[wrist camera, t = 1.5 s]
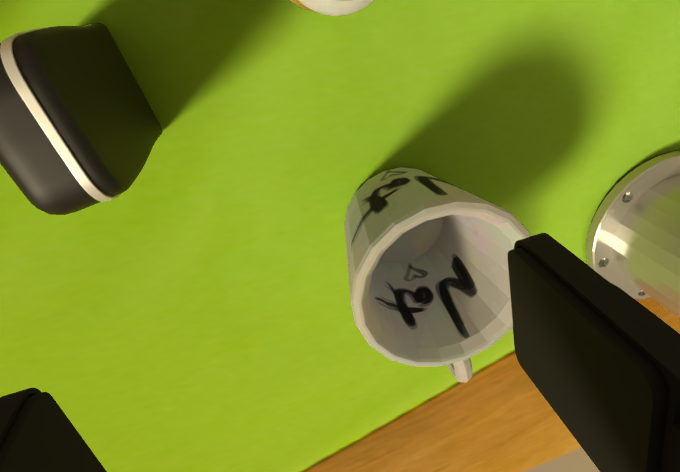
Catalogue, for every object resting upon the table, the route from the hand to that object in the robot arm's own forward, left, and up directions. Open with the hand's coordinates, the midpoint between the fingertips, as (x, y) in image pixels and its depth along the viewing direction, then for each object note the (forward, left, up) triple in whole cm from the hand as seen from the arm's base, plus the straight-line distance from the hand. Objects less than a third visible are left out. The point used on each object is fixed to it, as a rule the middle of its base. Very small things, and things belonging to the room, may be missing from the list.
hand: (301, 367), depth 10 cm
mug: (-5, +13, -23) cm, 27 cm away
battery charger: (+7, -5, -23) cm, 25 cm away
